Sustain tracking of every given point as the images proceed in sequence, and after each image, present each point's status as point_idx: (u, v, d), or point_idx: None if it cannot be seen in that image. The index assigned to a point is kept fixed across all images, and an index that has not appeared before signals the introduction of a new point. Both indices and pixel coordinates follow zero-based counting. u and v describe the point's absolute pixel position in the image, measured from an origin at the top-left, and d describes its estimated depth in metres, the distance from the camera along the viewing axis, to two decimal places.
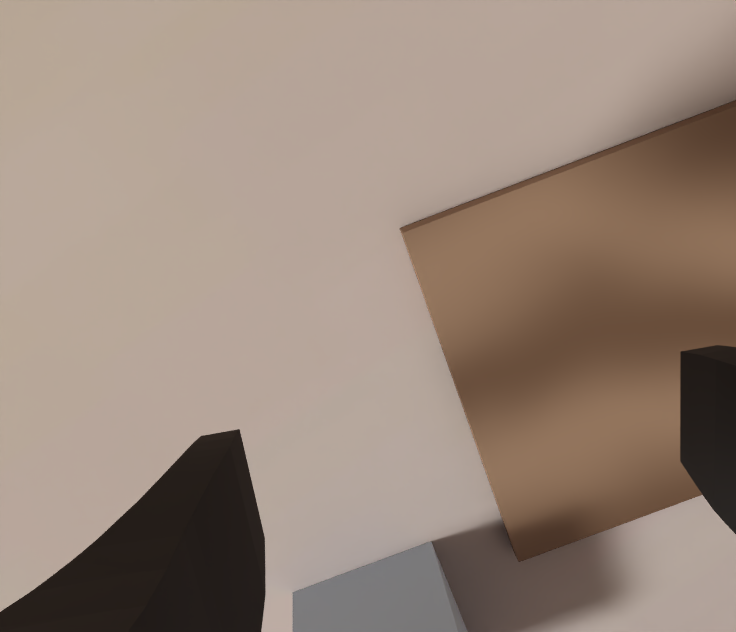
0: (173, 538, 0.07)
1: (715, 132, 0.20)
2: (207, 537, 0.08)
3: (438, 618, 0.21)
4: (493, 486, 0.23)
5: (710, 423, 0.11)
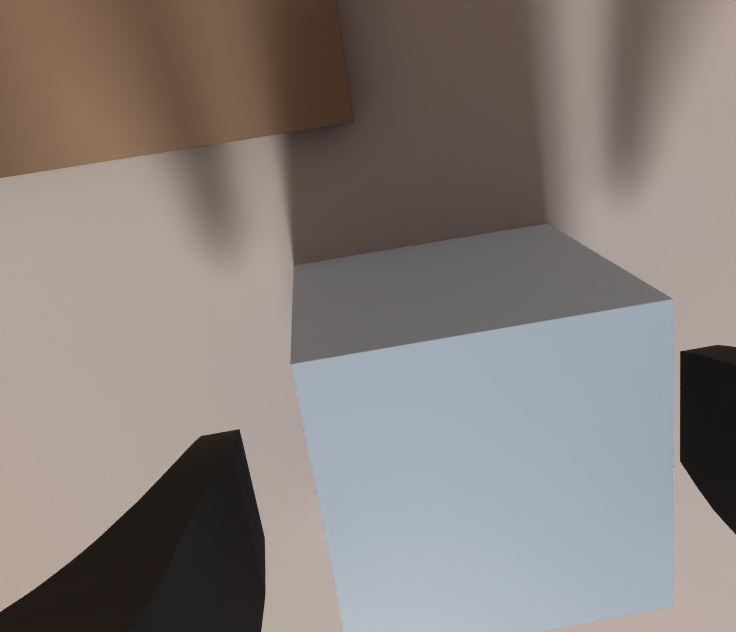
0: (173, 538, 0.07)
1: None
2: (207, 537, 0.08)
3: None
4: (170, 148, 0.12)
5: (710, 423, 0.11)
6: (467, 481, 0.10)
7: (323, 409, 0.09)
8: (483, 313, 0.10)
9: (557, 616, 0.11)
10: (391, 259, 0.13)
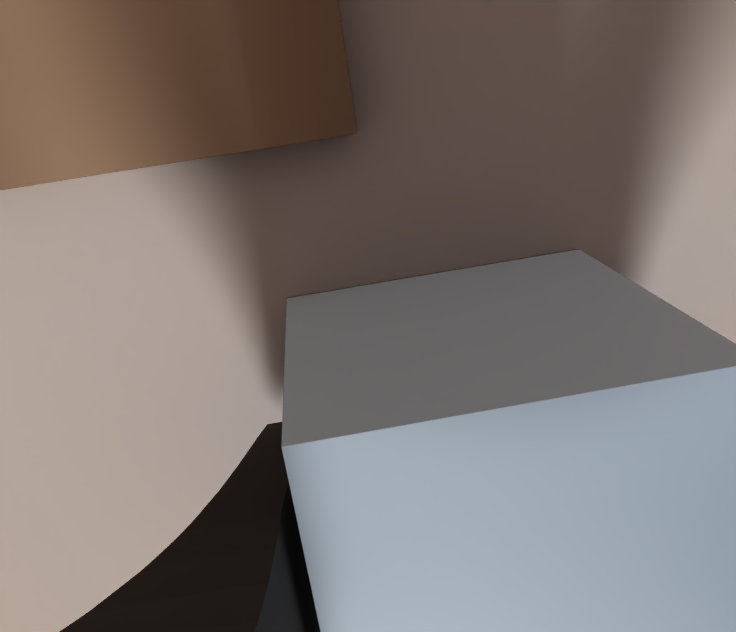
0: (271, 520, 0.07)
1: None
2: (294, 521, 0.08)
3: None
4: (141, 164, 0.10)
5: None
6: (501, 583, 0.08)
7: (323, 502, 0.07)
8: (522, 375, 0.08)
9: None
10: (401, 294, 0.11)
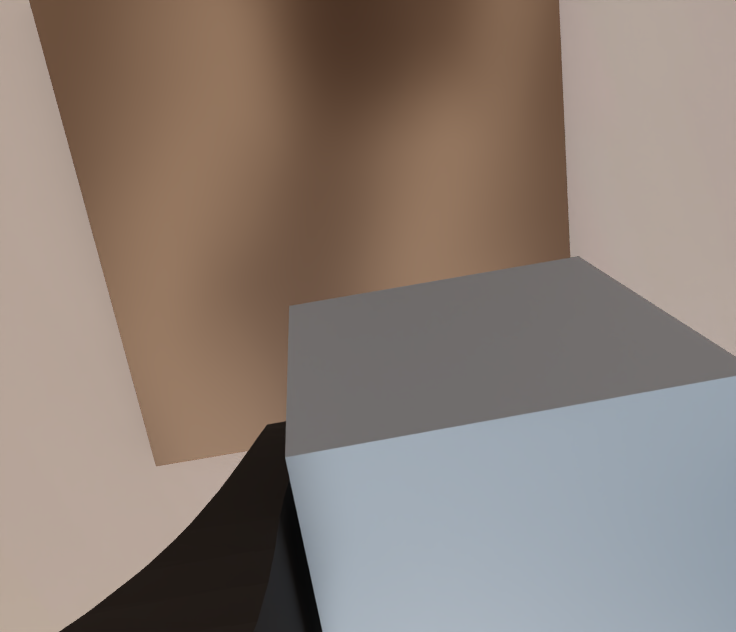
0: (270, 520, 0.07)
1: (86, 131, 0.17)
2: (294, 521, 0.08)
3: None
4: None
5: None
6: (502, 590, 0.08)
7: (325, 511, 0.07)
8: (521, 385, 0.08)
9: None
10: (402, 302, 0.11)
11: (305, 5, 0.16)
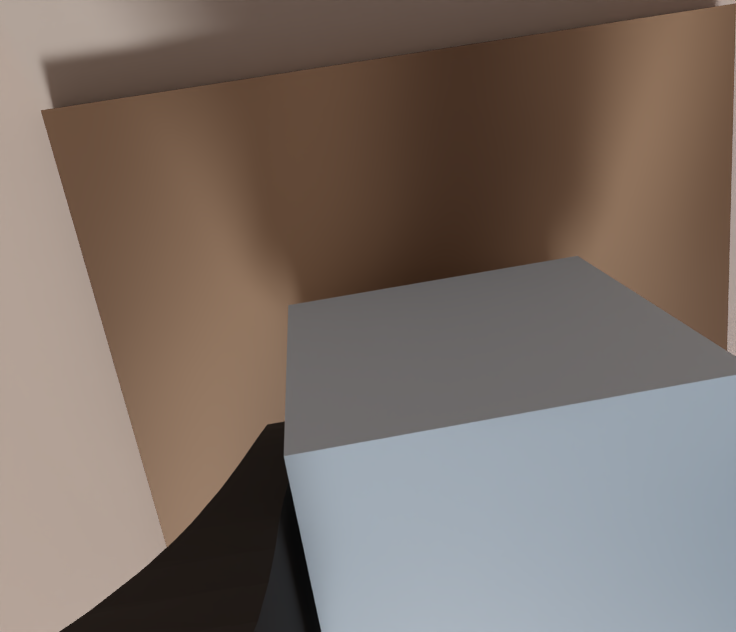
0: (270, 520, 0.07)
1: (116, 274, 0.13)
2: (294, 521, 0.08)
3: None
4: None
5: None
6: (501, 590, 0.08)
7: (325, 509, 0.07)
8: (520, 384, 0.08)
9: None
10: (401, 301, 0.11)
11: (405, 110, 0.12)
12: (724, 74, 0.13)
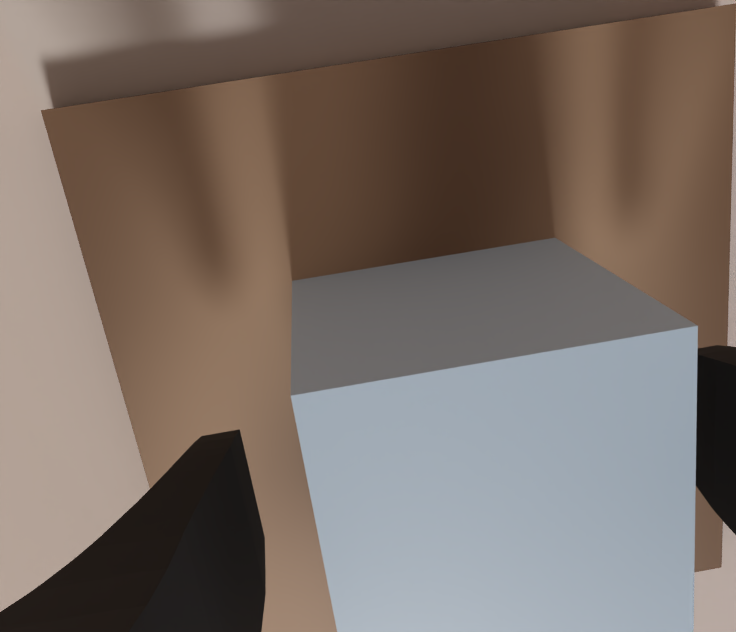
0: (173, 538, 0.07)
1: (117, 274, 0.13)
2: (207, 537, 0.08)
3: None
4: None
5: (710, 423, 0.11)
6: (478, 518, 0.09)
7: (325, 444, 0.09)
8: (494, 339, 0.09)
9: None
10: (394, 276, 0.12)
11: (405, 110, 0.12)
12: (724, 74, 0.13)
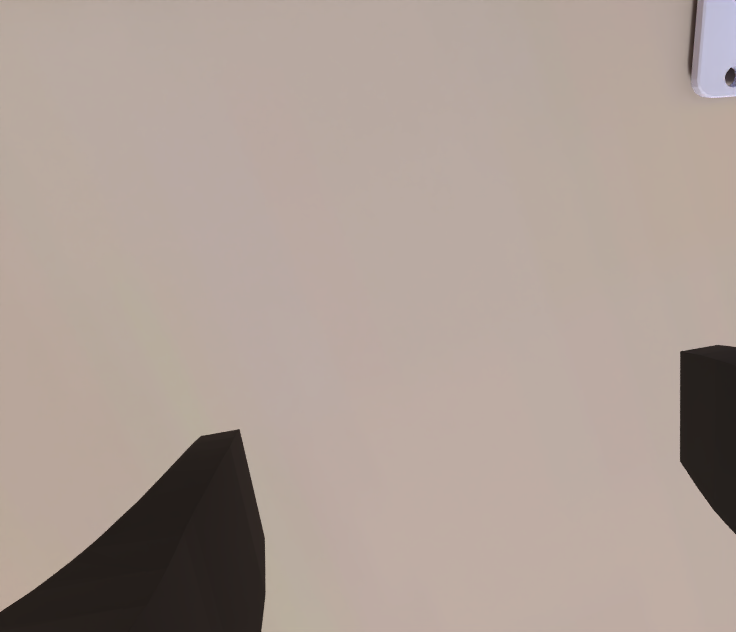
0: (173, 538, 0.07)
1: None
2: (207, 537, 0.08)
3: None
4: None
5: (710, 423, 0.11)
6: None
7: None
8: None
9: None
10: None
11: None
12: None
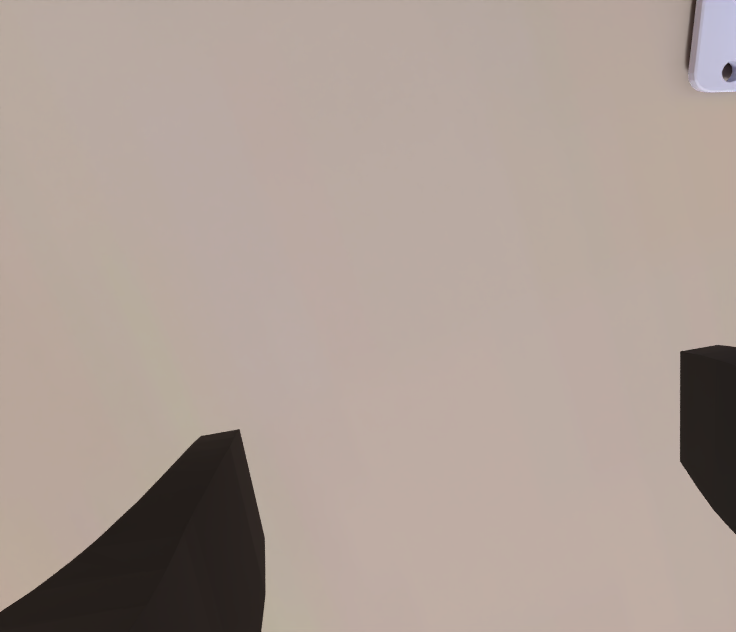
0: (173, 538, 0.07)
1: None
2: (207, 537, 0.08)
3: None
4: None
5: (710, 423, 0.11)
6: None
7: None
8: None
9: None
10: None
11: None
12: None
